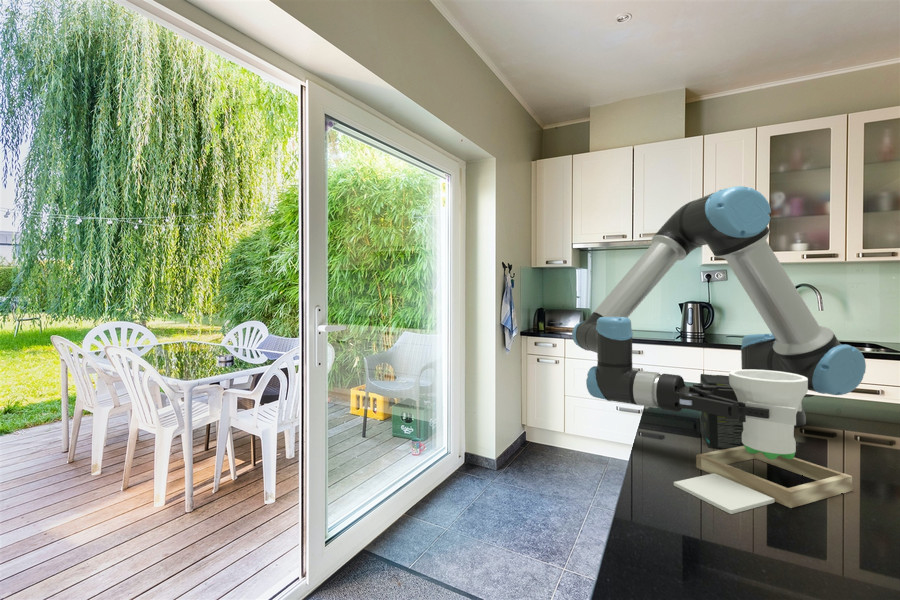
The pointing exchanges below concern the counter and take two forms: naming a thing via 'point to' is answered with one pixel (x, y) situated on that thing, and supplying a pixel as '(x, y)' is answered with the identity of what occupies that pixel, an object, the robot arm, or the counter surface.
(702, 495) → the felt mat
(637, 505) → the counter surface
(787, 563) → the counter surface
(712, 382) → the tampon box
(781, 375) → the cup
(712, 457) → the birch frame
